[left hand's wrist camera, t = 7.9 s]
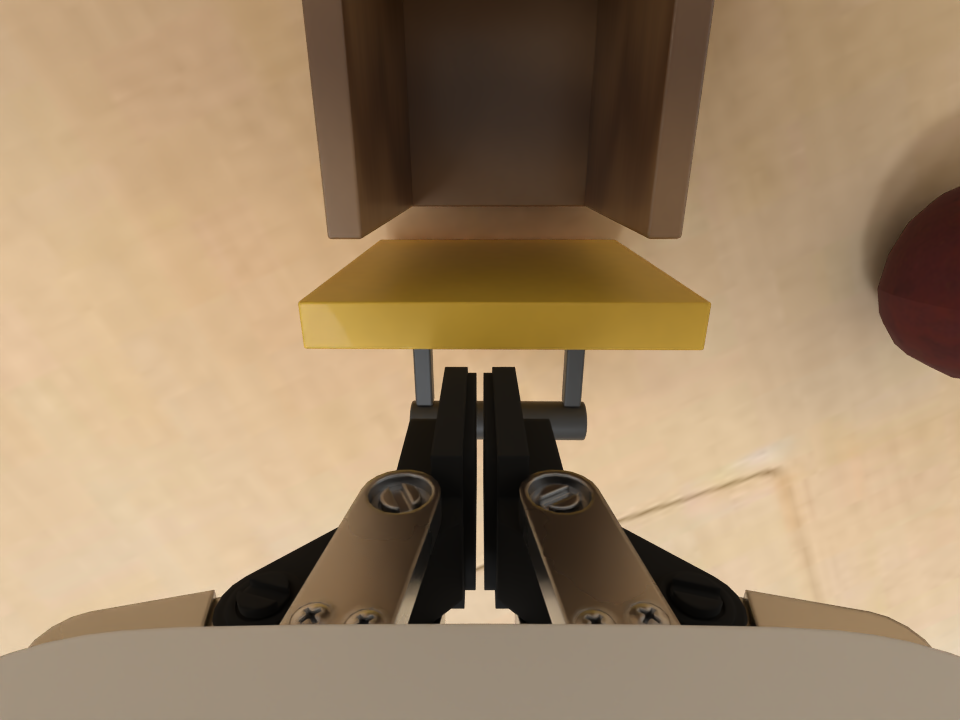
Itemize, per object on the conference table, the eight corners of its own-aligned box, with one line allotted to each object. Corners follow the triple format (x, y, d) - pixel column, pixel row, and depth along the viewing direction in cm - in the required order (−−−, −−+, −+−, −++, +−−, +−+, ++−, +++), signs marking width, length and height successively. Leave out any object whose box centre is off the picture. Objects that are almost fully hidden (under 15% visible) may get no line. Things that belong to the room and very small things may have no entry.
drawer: (602, 381, 23) (674, 525, 14) (390, 380, 24) (327, 522, 14) (679, -440, 14) (1023, -1522, 5) (330, -432, 14) (51, -1464, 5)
